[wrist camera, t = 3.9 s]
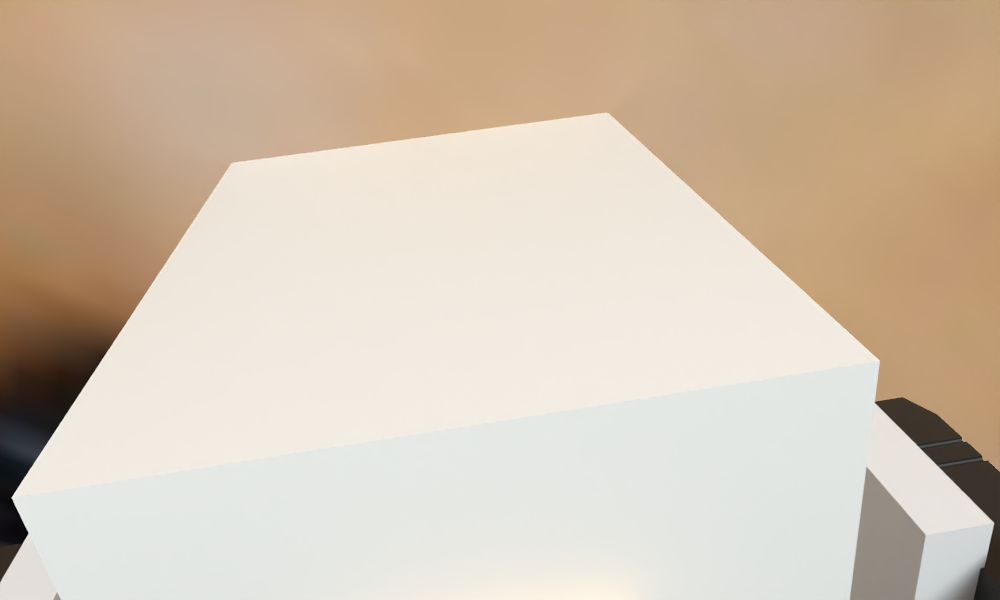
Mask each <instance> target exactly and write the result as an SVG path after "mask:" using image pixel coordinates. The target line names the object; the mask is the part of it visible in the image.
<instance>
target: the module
mask: <svg viewBox="0 0 1000 600" xmlns="http://www.w3.org/2000/svg"><path fill="white" fill-rule="evenodd" d="M879 364H880V361H879V360H878V359H877V358H876V357H875V356H874V355H873V354H872V353H871V352H870V351H868V350H867V349H866V348H865V347H864V346H863V345H862V344H861V343H860V342H859V341H857V340H856V339H855V338H854V337H853V336H852V335H851V334H850V333H849V332H848V331H847V330H845V329H844V328H843V327H842V326H841V325H840V324H839V323H838V322H837V321H836V320H834V319H833V318H832V317H831V316H830V315H829V314H828V313H827V312H826V311H825V310H823V309H822V308H821V307H820V306H819V305H818V304H817V303H816V302H815V301H814V300H813V299H811V298H810V297H809V296H808V295H807V294H806V293H805V292H804V291H803V290H802V289H800V288H799V287H798V286H797V285H796V284H795V283H794V282H793V281H792V280H791V279H789V278H788V277H787V276H786V275H785V274H784V273H783V272H782V271H781V270H780V269H779V268H777V267H776V266H775V265H774V264H773V263H772V262H771V261H770V260H769V259H768V258H766V257H765V256H764V255H763V254H762V253H761V252H760V251H759V250H758V249H757V248H756V247H754V246H753V245H752V244H751V243H750V242H749V241H748V240H747V239H746V238H745V237H743V236H742V235H741V234H740V233H739V232H738V231H737V230H736V229H735V228H734V227H732V226H731V225H730V224H729V223H728V222H727V221H726V220H725V219H724V218H723V217H722V216H720V215H719V214H718V213H717V212H716V211H715V210H714V209H713V208H712V207H711V206H709V205H708V204H707V203H706V202H705V201H704V200H703V199H702V198H701V197H700V196H698V195H697V194H696V193H695V192H694V191H693V190H692V189H691V188H690V187H689V186H688V185H686V184H685V183H684V182H683V181H682V180H681V179H680V178H679V177H678V176H677V175H675V174H674V173H673V172H672V171H671V170H670V169H669V168H668V167H667V166H666V165H665V164H663V163H662V162H661V161H660V160H659V159H658V158H657V157H656V156H655V155H654V154H652V153H651V152H650V151H649V150H648V149H647V148H646V147H645V146H644V145H643V144H641V143H640V142H639V141H638V140H637V139H636V138H635V137H634V136H633V135H632V134H631V133H629V132H628V131H627V130H626V129H625V128H624V127H623V126H622V125H621V124H620V123H618V122H617V121H616V120H615V119H614V118H613V117H612V116H611V115H610V114H609V113H600V114H593V115H586V116H578V117H571V118H563V119H556V120H548V121H541V122H533V123H526V124H519V125H511V126H504V127H496V128H489V129H481V130H474V131H466V132H459V133H451V134H444V135H437V136H429V137H422V138H414V139H407V140H399V141H392V142H384V143H377V144H370V145H362V146H355V147H347V148H340V149H332V150H325V151H317V152H310V153H302V154H295V155H288V156H280V157H273V158H265V159H258V160H250V161H243V162H235V163H231V165H230V166H229V168H228V169H227V171H226V172H225V174H224V175H223V177H222V178H221V180H220V182H219V183H218V185H217V186H216V188H215V189H214V191H213V192H212V194H211V195H210V197H209V198H208V200H207V201H206V203H205V204H204V206H203V207H202V209H201V210H200V212H199V213H198V215H197V217H196V218H195V220H194V221H193V223H192V224H191V226H190V227H189V229H188V230H187V232H186V233H185V235H184V236H183V238H182V239H181V241H180V242H179V244H178V245H177V247H176V248H175V250H174V251H173V253H172V255H171V256H170V258H169V259H168V261H167V262H166V264H165V265H164V267H163V268H162V270H161V271H160V273H159V274H158V276H157V277H156V279H155V280H154V282H153V283H152V285H151V286H150V288H149V290H148V291H147V293H146V294H145V296H144V297H143V299H142V300H141V302H140V303H139V305H138V306H137V308H136V309H135V311H134V312H133V314H132V315H131V317H130V318H129V320H128V321H127V323H126V325H125V326H124V328H123V329H122V331H121V332H120V334H119V335H118V337H117V338H116V340H115V341H114V343H113V344H112V346H111V347H110V349H109V350H108V352H107V353H106V355H105V356H104V358H103V359H102V361H101V363H100V364H99V366H98V367H97V369H96V370H95V372H94V373H93V375H92V376H91V378H90V379H89V381H88V382H87V384H86V385H85V387H84V388H83V390H82V391H81V393H80V394H79V396H78V398H77V399H76V401H75V402H74V404H73V405H72V407H71V408H70V410H69V411H68V413H67V414H66V416H65V417H64V419H63V420H62V422H61V423H60V425H59V426H58V428H57V429H56V431H55V432H54V434H53V436H52V437H51V439H50V440H49V442H48V443H47V445H46V446H45V448H44V449H43V451H42V452H41V454H40V455H39V457H38V458H37V460H36V461H35V463H34V464H33V466H32V467H31V469H30V471H29V472H28V474H27V475H26V477H25V478H24V480H23V481H22V483H21V484H20V486H19V487H18V489H17V490H16V492H15V493H14V495H13V496H12V499H13V502H14V504H15V506H16V508H17V510H18V512H19V514H20V516H21V518H22V520H23V522H24V524H25V526H26V528H27V531H28V533H29V535H30V537H31V539H32V541H33V543H34V545H35V547H36V549H37V551H38V553H39V555H40V557H41V560H42V562H43V564H44V566H45V568H46V570H47V572H48V574H49V576H50V578H51V580H52V582H53V584H54V586H55V589H56V591H57V593H58V595H59V597H60V599H61V600H850V593H851V585H852V577H853V569H854V562H855V554H856V546H857V538H858V530H859V522H860V514H861V506H862V498H863V490H864V482H865V474H866V467H867V459H868V451H869V443H870V435H871V427H872V419H873V411H874V403H875V395H876V387H877V379H878V372H879Z"/></svg>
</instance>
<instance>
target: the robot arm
mask: <svg viewBox="0 0 1000 600" xmlns="http://www.w3.org/2000/svg"><path fill="white" fill-rule="evenodd" d="M0 600H61V599H60V597H59V595H58V593H57V591H56V589H55V586H54V584H53V582H52V580H51V578H50V576H49V574H48V572H47V570H46V568H45V566H44V564H43V562H42V560H41V557H40V555H39V553H38V551H37V549H36V547H35V545H34V543H33V541H32V539H31V537H30V535H29V534H28V536H27V537H26V539H25V541H24V543H22V544H16V545H9V546H3V547H0ZM850 600H1000V472H999V471H998V470H997V469H996V468H995V467H994V466H993V465H992V464H990V463H989V462H988V461H983V459H982V455H981V454H980V453H978V452H977V451H976V450H975V449H974V448H973V447H972V446H971V445H970V444H969V443H967V442H963V441H962V437H961V436H960V435H959V434H958V433H957V432H955V431H954V430H953V429H952V428H951V427H950V426H949V425H948V424H947V423H946V422H945V421H943V420H942V419H941V418H940V417H939V416H938V415H937V414H935V413H933V412H931V411H929V410H927V409H925V408H923V407H921V406H919V405H917V404H915V403H913V402H911V401H909V400H907V399H905V398H903V397H902V398H896V399H889V400H883V401H877V402H875V403H874V411H873V419H872V427H871V435H870V443H869V451H868V459H867V467H866V474H865V482H864V490H863V498H862V506H861V514H860V522H859V530H858V538H857V546H856V554H855V562H854V569H853V577H852V585H851V593H850Z"/></svg>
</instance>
